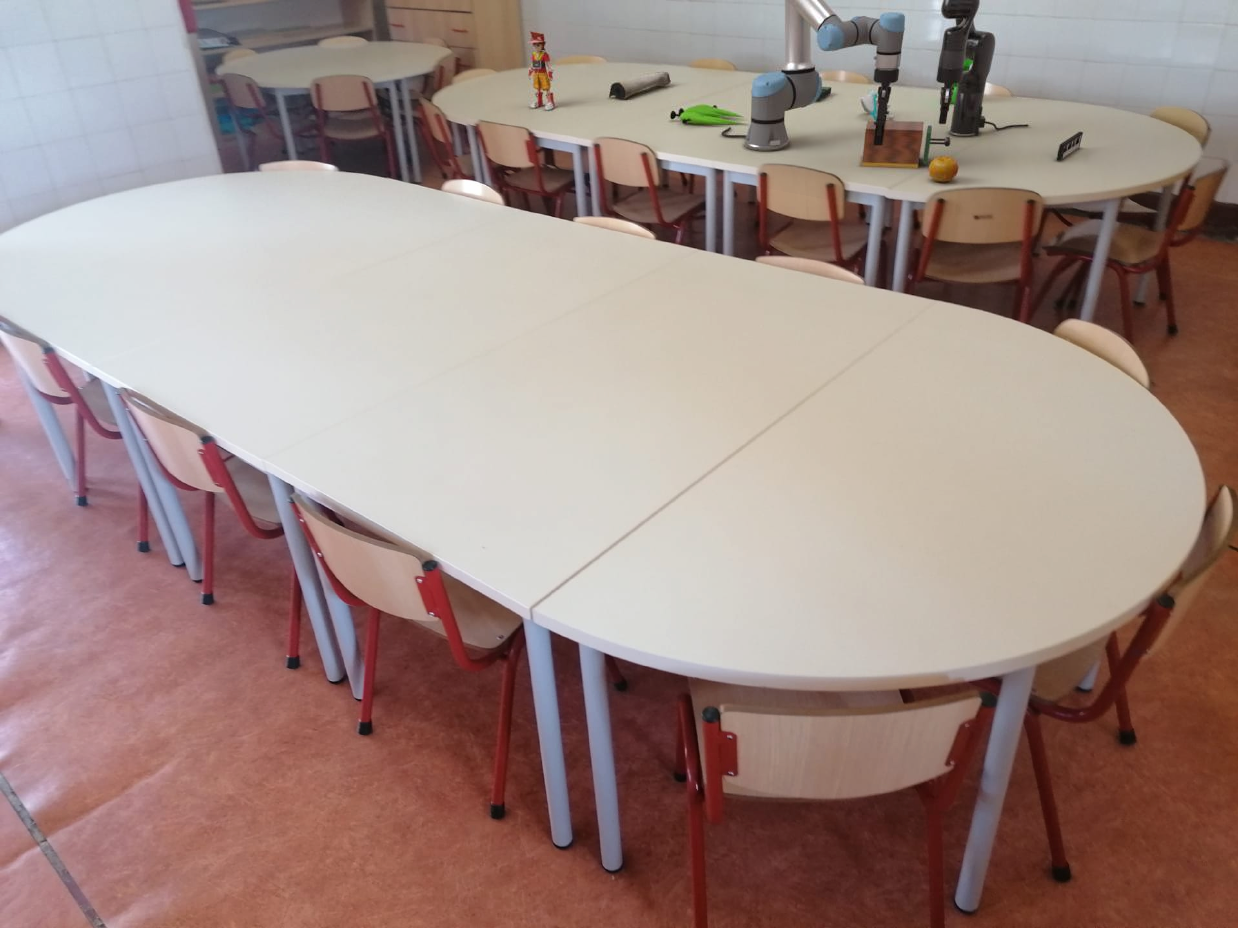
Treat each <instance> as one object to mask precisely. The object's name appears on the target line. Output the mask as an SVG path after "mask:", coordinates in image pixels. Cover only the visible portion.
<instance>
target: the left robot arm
mask: <svg viewBox="0 0 1238 928" xmlns="http://www.w3.org/2000/svg"><path fill="white" fill-rule="evenodd" d="M905 26H906V16H905V14H904V13H902V12H898V11H897V12H893V11H891V12H889V11H888V12H884V13H883V12H882V13H881V14H880V16H879V18H876V17H869V16H867V15H862V16H860V15H859V16H858V15H856V16H853V17H852V18H851V19H850V20H844V21H843V20H842V19H841V18H840V17H839V16H838V15H837V14H836V12H835V11H834V10H833V9H832V8H831V7H830V6H829V5H828V3H827V2H826V1H825V0H784V30H785V31H784V36H785V37H784V39H785V44H784V45H785V47H784V48H785V51H784V52H785V62H784V64H783V65H782V66H781V68H780V69H781V70H780V71H771V72H765V73H762V74H759V75H757V76H756V77H755V78H754V79H753V81H752V82H751V83H752V84H751V91H750V94H751V98H750V99H751V101H750V103H751V104H750V107H751V108H750V109H751V110H750V123H749V126H748V127H749V128H748V130H747V134H726V133H727V132H728V131H730V130H731V129H732V126H729V127H728V128H726V129H725V130H723V131H722V132H721V136H722V137H724V138H742V139H743V138H745V140H744V146H745V148H747V149H749V150H751V151H752V150H753V151H758V152H774V151H780V150H783V149H785V148H788V146H789V135H788V131H787V128H786V124H785V115H786V114H785V113H786V112H788V111H791V110H796V109H799V108H800V109H801V108H807V107H808V106H811V105H813V104H814V103H815V102H817V101H816V100H817V99H818V98H819V96H820V93H821V90H822V87H823V79H822V77H821V76H820V73H819V72H818V70H816V64H814V63H813V62H812V60H811V59H812V58H811V55H812V54H811V52H812V51H811V49H812V47H811V43H812V39H811V38H812V37H811V35H812V29H813V30H814V32H815V33H816V42H817V44H818V45H817V46H818V48H819V49H820V50H822V51H823V52H835V51H839V50H843V49H847V48H853V47H857V46H862V45H870V46H874V47H875V46H876V52H875V53H876V54H875V55H876V56H873V60H874V61H875V64H874V66H875V69H874V70H873V82H875V83H878V84H881V85H880V86H878V89H877V96H878V97H877V100H878V112H877V121H876V120H875V121H876V122H874V125H876V128H875V137H874V145H882V144H883V135H884V126H885V121H887V119H886V116H887V115H885V114H889V115H890V111H889V110H887V105H889V102H890V97H891V94H892V86H890V85H891V84H894V83H897V82H898V81H899V76H900V66H901V60H902V48H903V42H904V41H903V40H904V34H905V28H906V27H905Z"/></svg>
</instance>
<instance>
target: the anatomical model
mask: <svg viewBox="0 0 1238 928" xmlns="http://www.w3.org/2000/svg"><path fill="white" fill-rule="evenodd" d="M860 103H861V106H862V108H863V111H864V112H865V113H870V115H871V117H872V118H873V121H877V112H878V104H879V103H878V92H877V93H875V91H874V90H869V92H868V93H867V95H864V96H862V97H861V96H860ZM890 108H891V104H887V111H889V109H890ZM885 115H887V116H886V120H893V119H894V118H895V115H894V114H890V113H889V114H885Z"/></svg>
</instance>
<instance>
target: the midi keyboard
mask: <svg viewBox="0 0 1238 928" xmlns="http://www.w3.org/2000/svg"><path fill="white" fill-rule="evenodd" d="M1083 134H1084V131H1078V132H1076V133H1075V134H1073V135H1072V136H1070V137H1069V138H1067V139H1066V140H1063V142H1061V143H1060V144H1059V146H1058V151H1057V156H1056V161H1061V160H1063V159H1064V158H1066V157H1067V156H1068V155H1069V154H1071V153H1073V152H1074V151H1076V150H1077V149H1078V148H1080V147H1081V142H1082V139H1083V138H1082V137H1083Z"/></svg>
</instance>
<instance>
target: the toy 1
mask: <svg viewBox="0 0 1238 928" xmlns="http://www.w3.org/2000/svg"><path fill="white" fill-rule="evenodd" d="M529 33H530V35H531V36H528V37H527V38H528V39H529V40H528V41H527V43H529V44H530V43H531V44H532V48H533V50H534V51H533V52H532V55H531V58H530V59H531V63H530V66H528V74H527V75H528V76H527V77H528V79H529V80H531V75H532V74H533V84H532V85H533V86H532V87H533V88H534V89H535V90H536V92H534V95H535V97H536V100H535V101H533V102H531V105H530V108H531V109H535V108H538V107H542V106H544V101H543V100H544V99H543V95H544V92H546V94H545V97H546V99H547V103H546V104H545V106H544V110H546V111H549V110H553V109H554V107H555V106H556V105H555V99H554V92H551V91H550V90H551V86H552V84H551V82H552V81H553V80H554V77H553V73H554V71H555V70H554V69H552V68H551V63H550V61H551V59H550V58H551V57H550V54H549V53H548V52H547V50H546V48H545V46H546V44H547V41H545V35H544V33H543V32H542V33H539V32H535V31H529Z"/></svg>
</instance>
